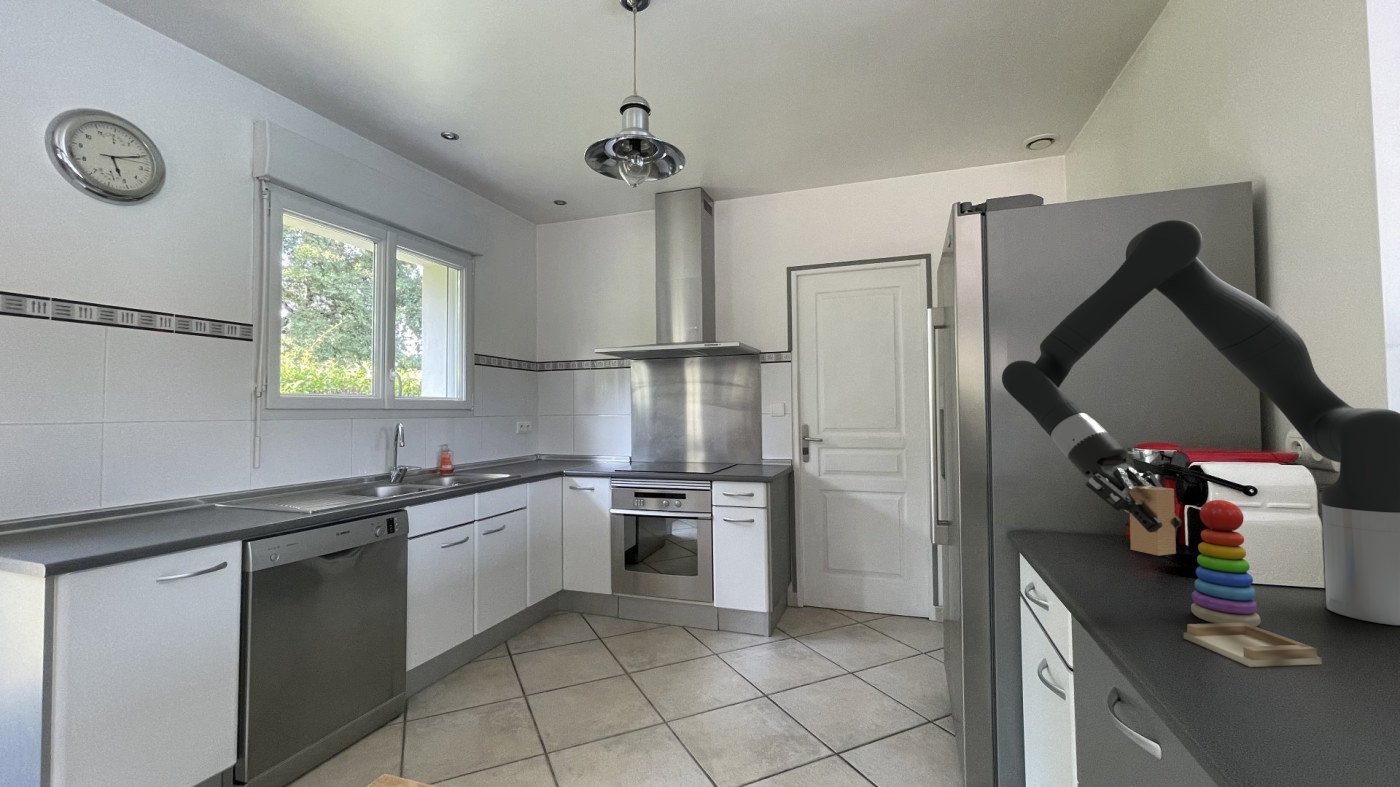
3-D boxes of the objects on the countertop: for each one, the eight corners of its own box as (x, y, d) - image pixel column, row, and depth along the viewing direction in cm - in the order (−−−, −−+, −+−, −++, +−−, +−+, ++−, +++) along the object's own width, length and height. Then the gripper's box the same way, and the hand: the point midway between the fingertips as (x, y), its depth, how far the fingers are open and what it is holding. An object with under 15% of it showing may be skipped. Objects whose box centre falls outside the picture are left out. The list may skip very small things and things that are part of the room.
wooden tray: (1247, 636, 80) (1247, 622, 80) (1321, 664, 71) (1321, 648, 71) (1183, 638, 80) (1183, 624, 80) (1250, 666, 71) (1249, 651, 71)
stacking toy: (1275, 632, 82) (1270, 505, 83) (1213, 628, 84) (1209, 503, 84) (1235, 613, 90) (1231, 497, 90) (1179, 609, 91) (1175, 496, 92)
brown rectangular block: (1130, 549, 88) (1128, 486, 88) (1147, 547, 89) (1146, 485, 90) (1158, 555, 84) (1156, 490, 85) (1175, 553, 86) (1173, 488, 86)
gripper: (1072, 431, 92) (1154, 517, 80) (1130, 430, 97) (1216, 511, 85) (1043, 460, 97) (1117, 545, 85) (1101, 458, 102) (1178, 538, 90)
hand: (1166, 527), depth 85 cm, fingers closed on brown rectangular block, 4 cm apart
